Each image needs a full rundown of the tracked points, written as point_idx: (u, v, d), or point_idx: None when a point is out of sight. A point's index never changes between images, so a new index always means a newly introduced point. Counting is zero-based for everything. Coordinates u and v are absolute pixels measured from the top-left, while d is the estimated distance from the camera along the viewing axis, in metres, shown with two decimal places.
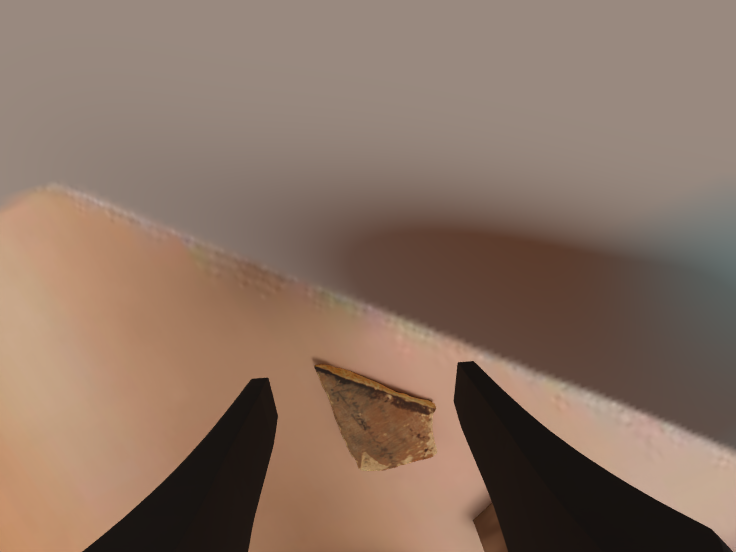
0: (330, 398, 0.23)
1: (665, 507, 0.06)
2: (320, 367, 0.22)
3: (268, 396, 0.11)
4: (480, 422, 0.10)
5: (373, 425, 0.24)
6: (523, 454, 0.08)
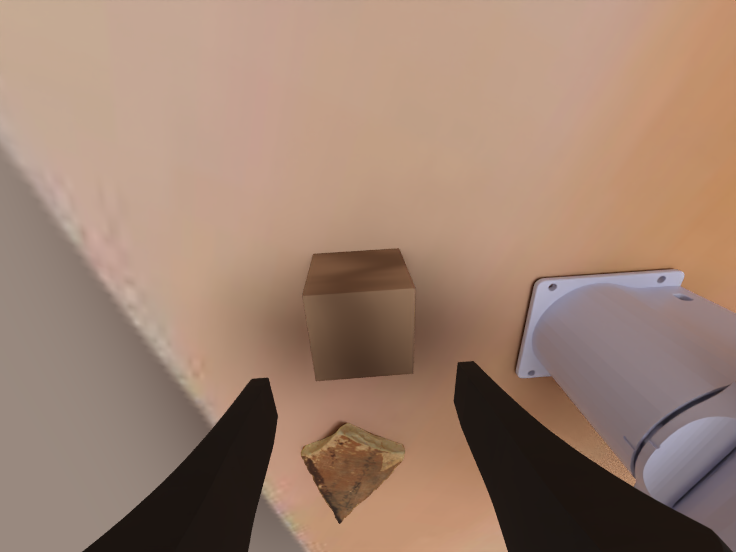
0: (354, 506, 0.28)
1: (665, 507, 0.06)
2: (337, 520, 0.29)
3: (268, 396, 0.11)
4: (480, 422, 0.10)
5: (351, 481, 0.26)
6: (523, 454, 0.08)
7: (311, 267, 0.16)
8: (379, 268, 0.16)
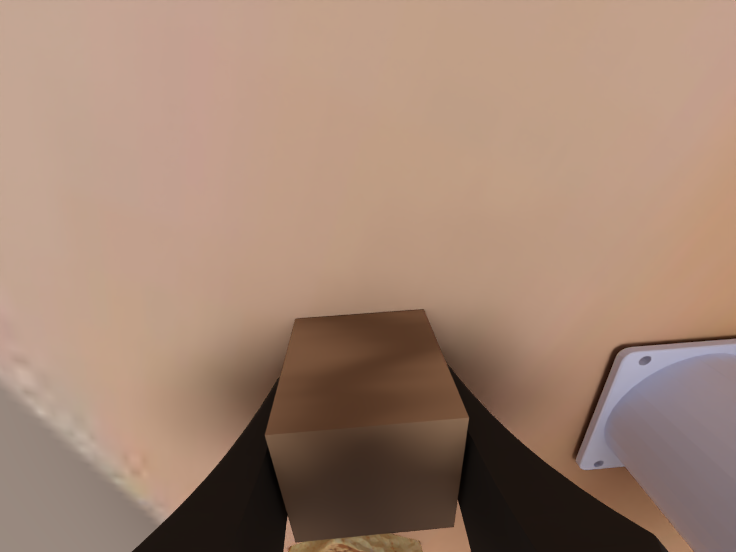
0: None
1: (613, 512, 0.06)
2: None
3: None
4: None
5: None
6: (481, 458, 0.07)
7: (289, 351, 0.10)
8: (399, 359, 0.10)
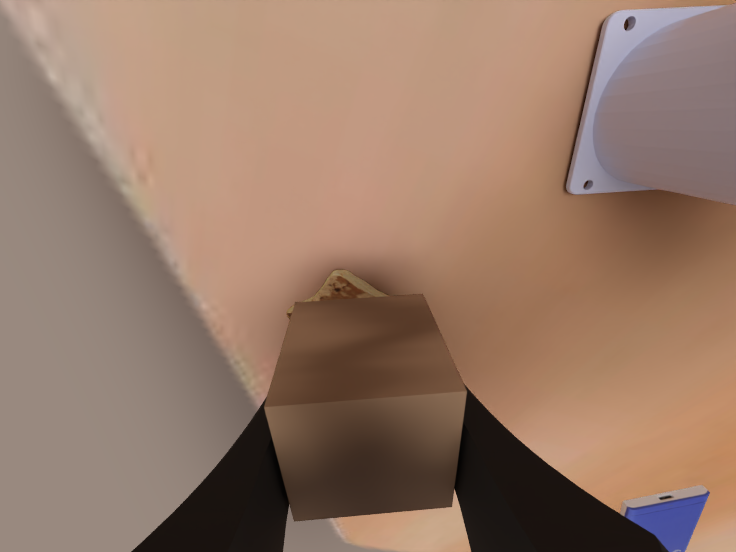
0: None
1: (614, 512, 0.06)
2: None
3: None
4: None
5: None
6: (482, 458, 0.07)
7: (288, 331, 0.10)
8: (398, 339, 0.10)
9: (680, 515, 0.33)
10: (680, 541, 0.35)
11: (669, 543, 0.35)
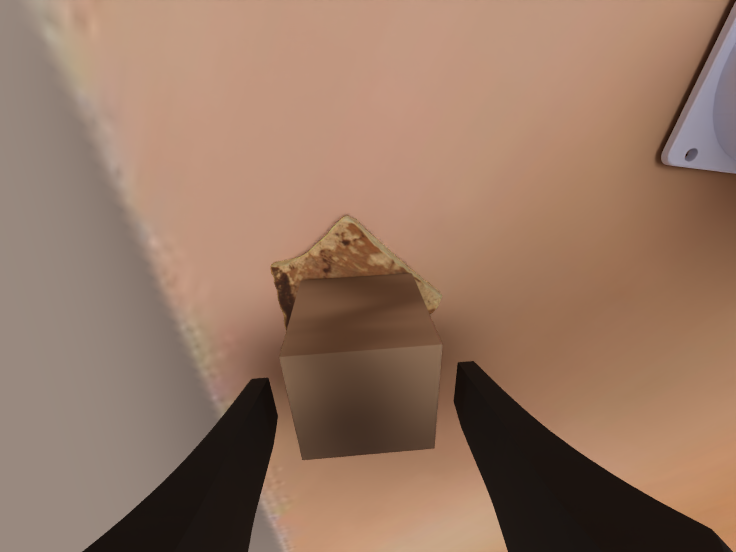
0: None
1: (665, 507, 0.06)
2: None
3: (268, 396, 0.11)
4: (480, 422, 0.10)
5: None
6: (523, 454, 0.08)
7: (296, 303, 0.12)
8: (388, 308, 0.12)
9: None
10: None
11: None
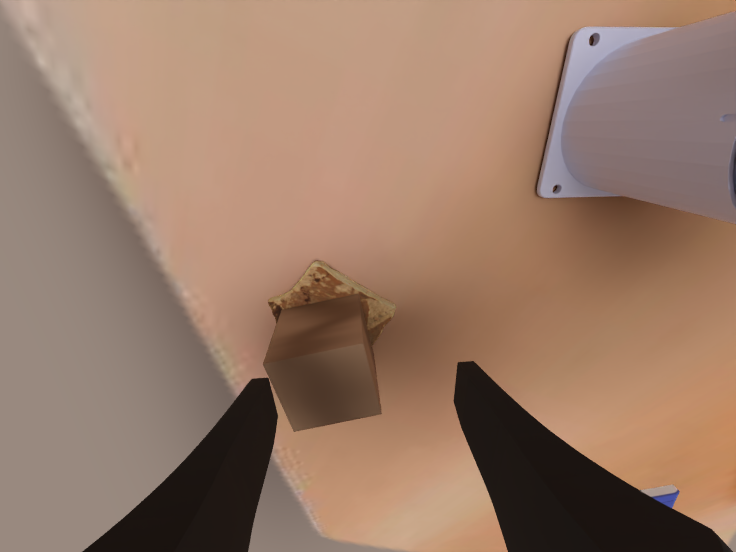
0: None
1: (665, 507, 0.06)
2: None
3: (268, 396, 0.11)
4: (480, 422, 0.10)
5: None
6: (523, 454, 0.08)
7: (276, 327, 0.18)
8: (336, 322, 0.17)
9: None
10: None
11: None
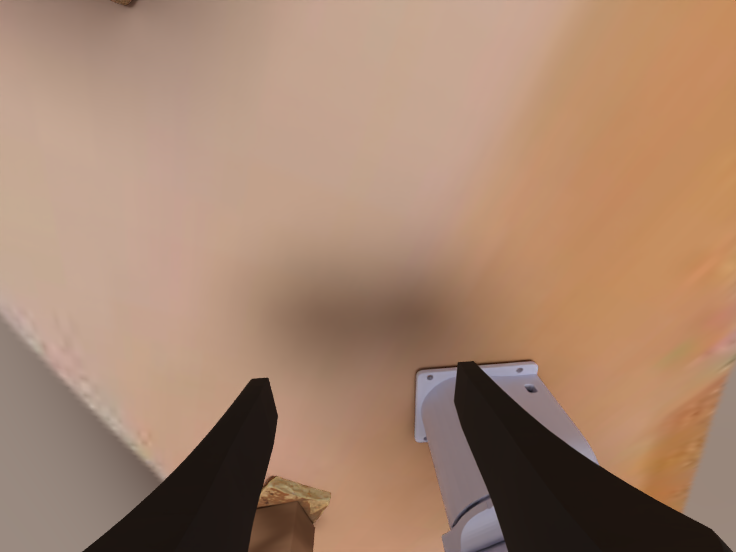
0: None
1: (664, 507, 0.06)
2: None
3: (268, 396, 0.11)
4: (480, 422, 0.10)
5: None
6: (523, 454, 0.08)
7: None
8: (276, 539, 0.26)
9: None
10: None
11: None
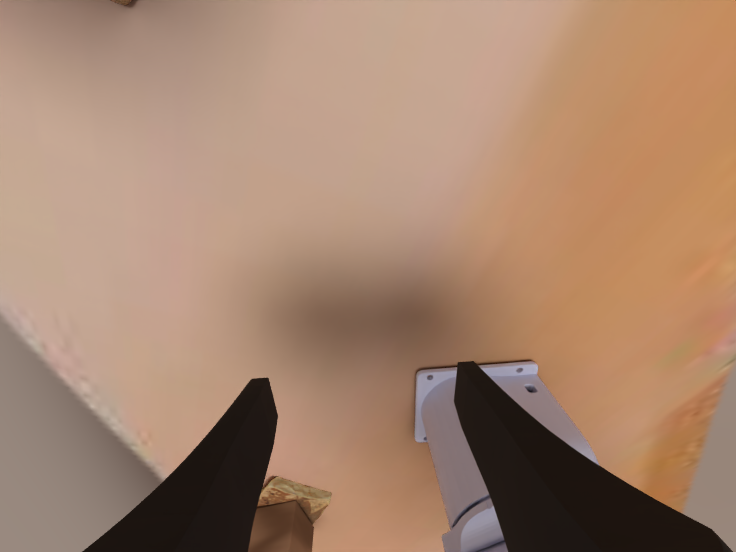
0: None
1: (664, 507, 0.06)
2: None
3: (268, 396, 0.11)
4: (480, 422, 0.10)
5: None
6: (523, 454, 0.08)
7: None
8: (275, 538, 0.26)
9: None
10: None
11: None
